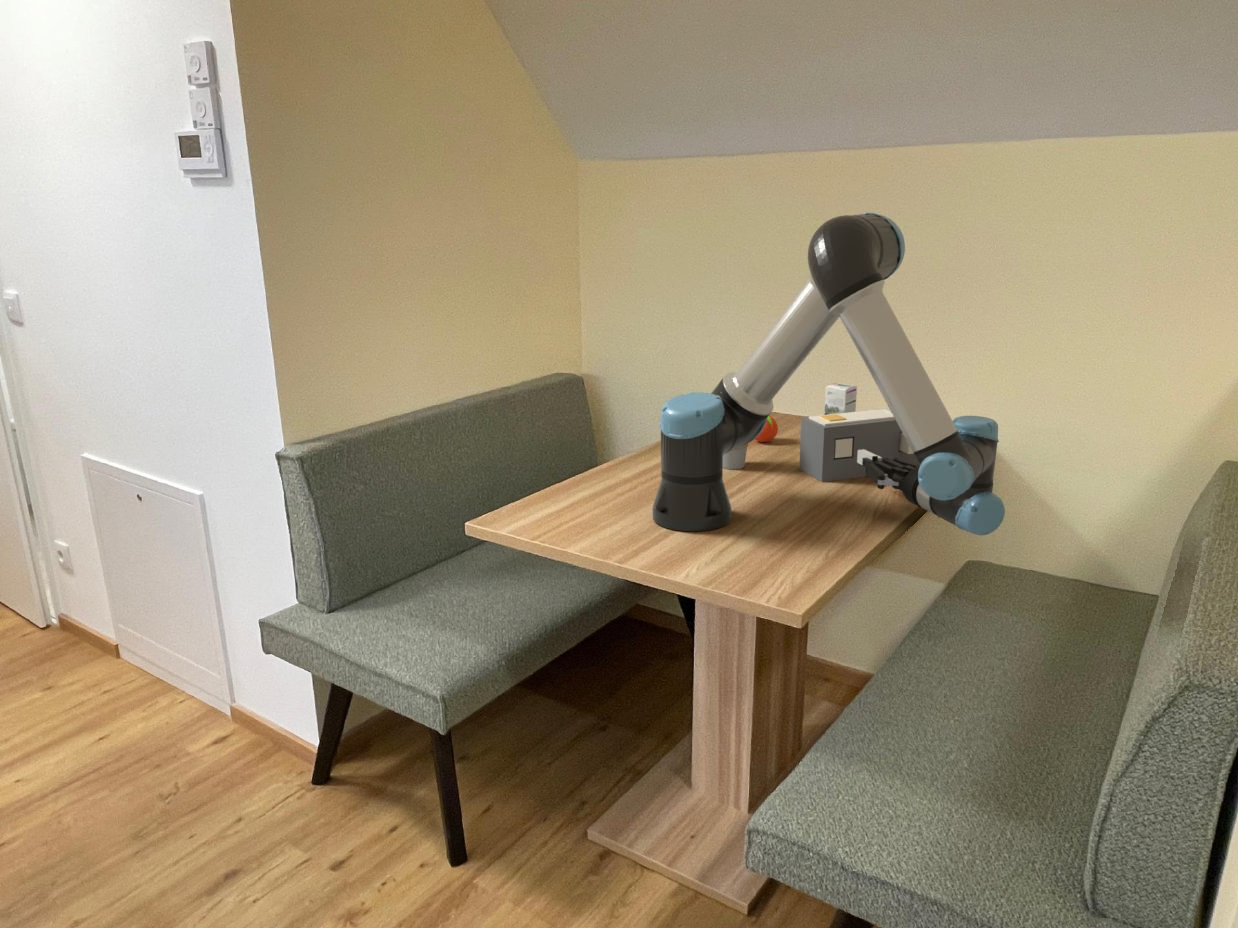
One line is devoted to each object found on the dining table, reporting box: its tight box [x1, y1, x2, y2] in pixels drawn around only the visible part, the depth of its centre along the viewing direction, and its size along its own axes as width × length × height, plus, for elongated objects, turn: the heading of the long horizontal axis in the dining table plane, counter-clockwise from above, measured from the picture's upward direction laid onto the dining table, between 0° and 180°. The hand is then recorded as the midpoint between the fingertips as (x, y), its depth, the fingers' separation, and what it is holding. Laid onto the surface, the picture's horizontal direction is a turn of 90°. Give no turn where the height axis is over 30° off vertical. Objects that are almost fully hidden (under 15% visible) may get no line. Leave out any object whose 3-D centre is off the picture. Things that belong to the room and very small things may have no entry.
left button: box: [834, 437, 853, 458], centre depth 191 cm, size 6×4×4 cm
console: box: [798, 407, 920, 483], centre depth 196 cm, size 10×26×13 cm, turn 107°
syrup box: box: [823, 382, 858, 415], centre depth 216 cm, size 6×6×14 cm
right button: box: [899, 431, 914, 454], centre depth 193 cm, size 6×4×4 cm
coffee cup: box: [723, 443, 749, 470], centre depth 200 cm, size 9×9×15 cm
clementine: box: [754, 415, 779, 443], centre depth 219 cm, size 8×7×7 cm
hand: (860, 456), depth 183 cm, fingers closed
